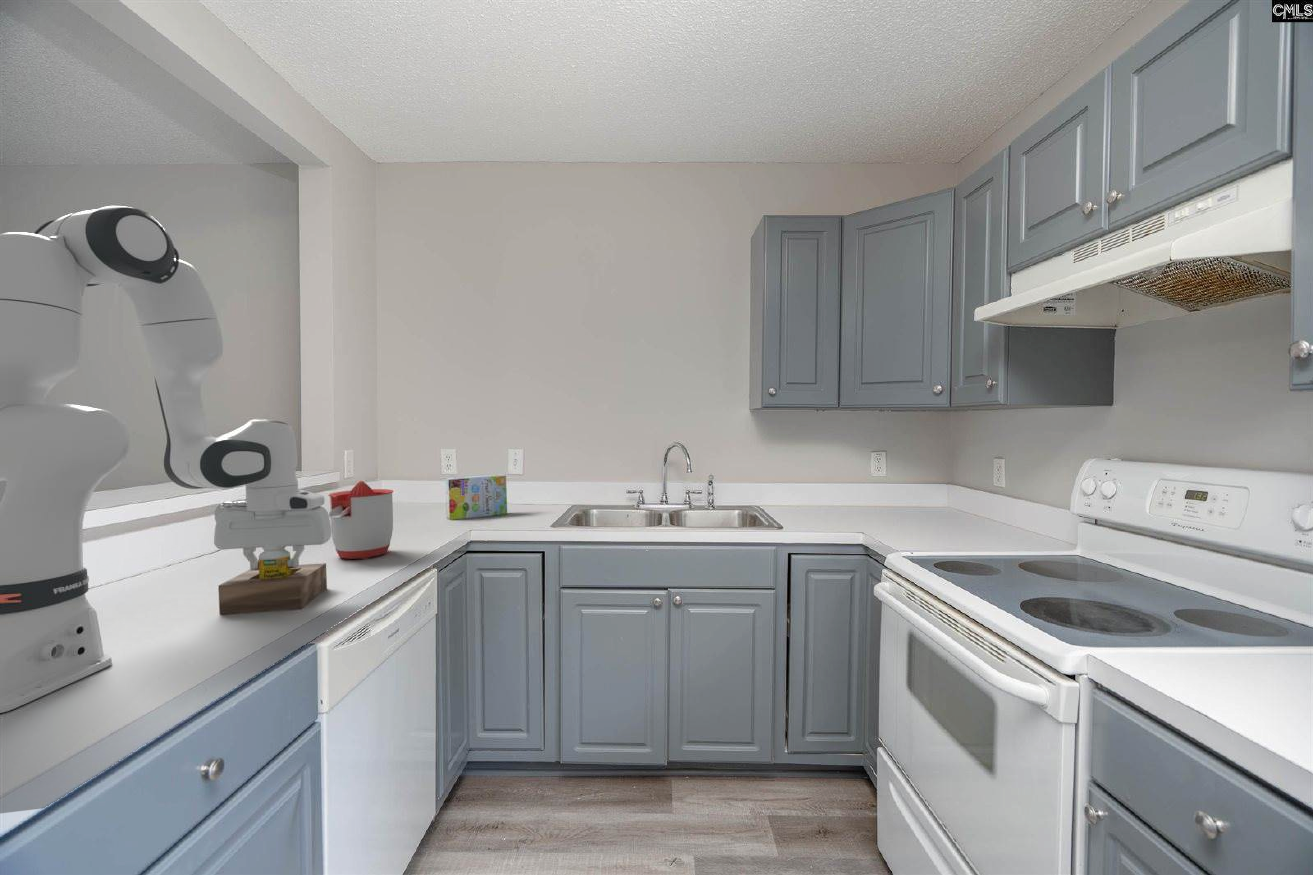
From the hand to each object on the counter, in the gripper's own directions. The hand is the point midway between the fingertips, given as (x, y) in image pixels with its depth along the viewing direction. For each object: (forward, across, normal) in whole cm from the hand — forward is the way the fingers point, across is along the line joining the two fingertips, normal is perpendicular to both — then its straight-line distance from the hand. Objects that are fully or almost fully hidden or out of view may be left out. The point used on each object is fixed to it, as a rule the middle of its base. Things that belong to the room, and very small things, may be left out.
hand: (275, 568), depth 119 cm
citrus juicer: (+7, +5, +39) cm, 40 cm away
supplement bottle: (+4, 0, 0) cm, 4 cm away
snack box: (+6, +29, +98) cm, 103 cm away
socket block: (+7, 0, 0) cm, 7 cm away
